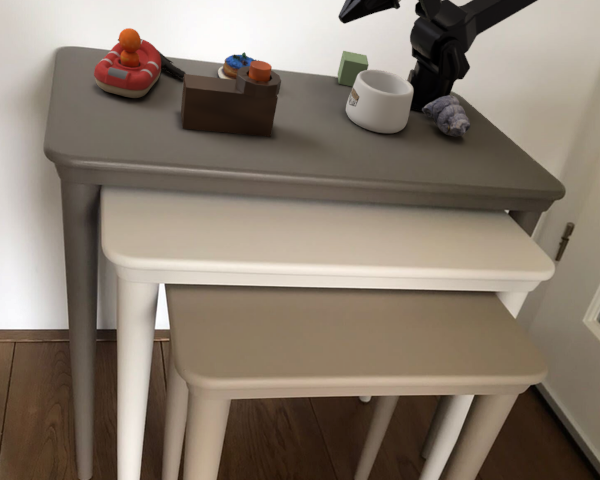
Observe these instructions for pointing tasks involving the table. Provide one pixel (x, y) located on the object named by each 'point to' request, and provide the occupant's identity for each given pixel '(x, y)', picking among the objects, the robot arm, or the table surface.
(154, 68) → the toy boat
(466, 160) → the table surface
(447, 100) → the grub
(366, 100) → the mug
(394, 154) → the table surface
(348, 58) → the green cube block
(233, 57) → the dessert
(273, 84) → the brown button base
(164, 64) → the bird model
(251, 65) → the button
